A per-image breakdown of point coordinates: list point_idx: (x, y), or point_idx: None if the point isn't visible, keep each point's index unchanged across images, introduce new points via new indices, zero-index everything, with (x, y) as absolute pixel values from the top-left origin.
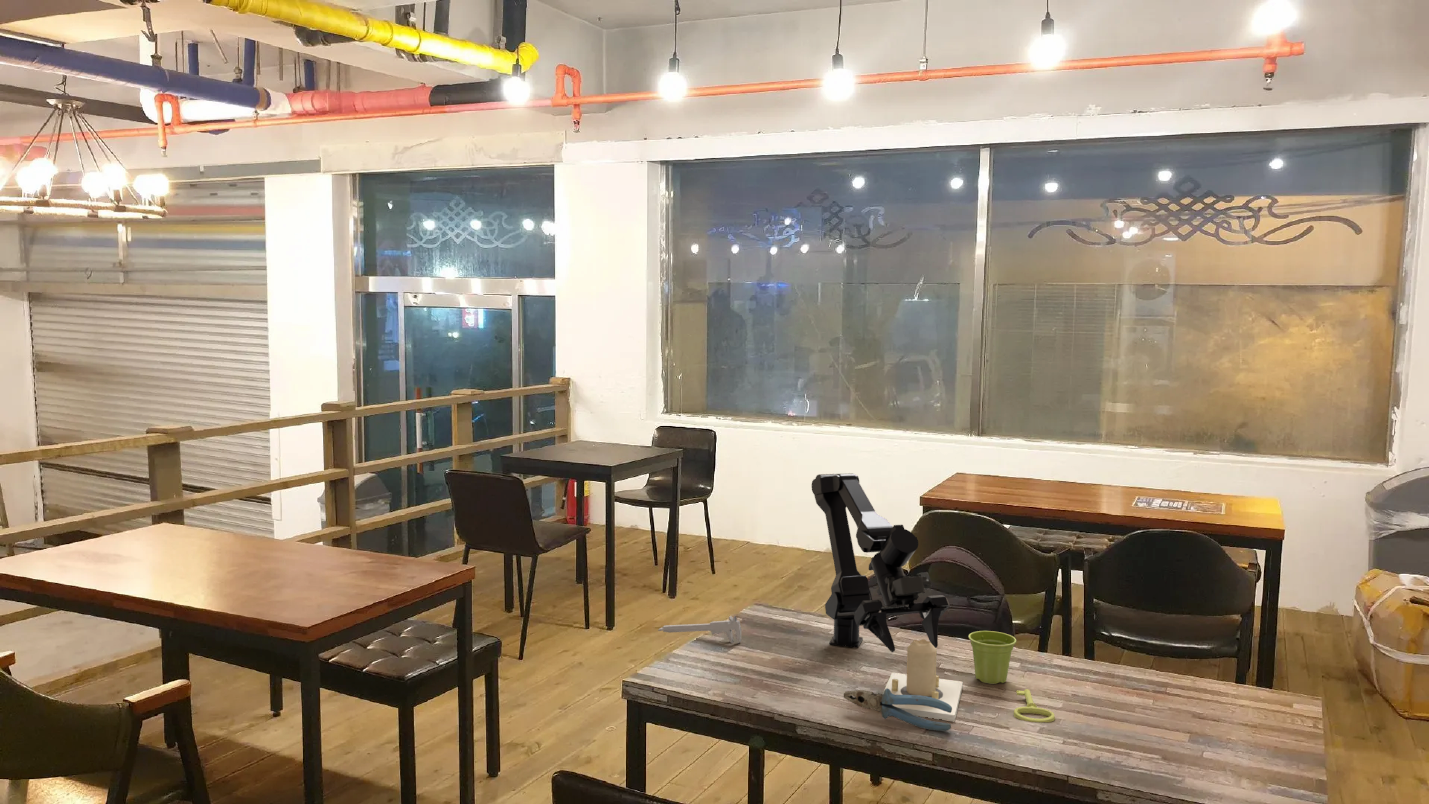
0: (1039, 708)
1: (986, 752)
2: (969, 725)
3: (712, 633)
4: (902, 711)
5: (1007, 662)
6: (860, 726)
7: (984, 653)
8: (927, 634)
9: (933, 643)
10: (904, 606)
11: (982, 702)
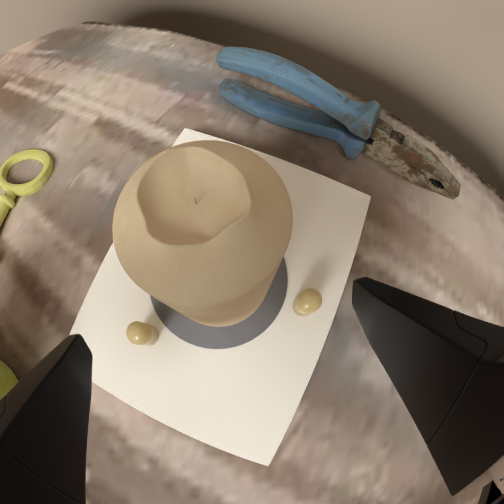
0: (4, 183)
1: (192, 50)
2: (163, 124)
3: None
4: (321, 115)
5: None
6: None
7: None
8: (81, 457)
9: (81, 361)
10: None
11: (65, 248)
